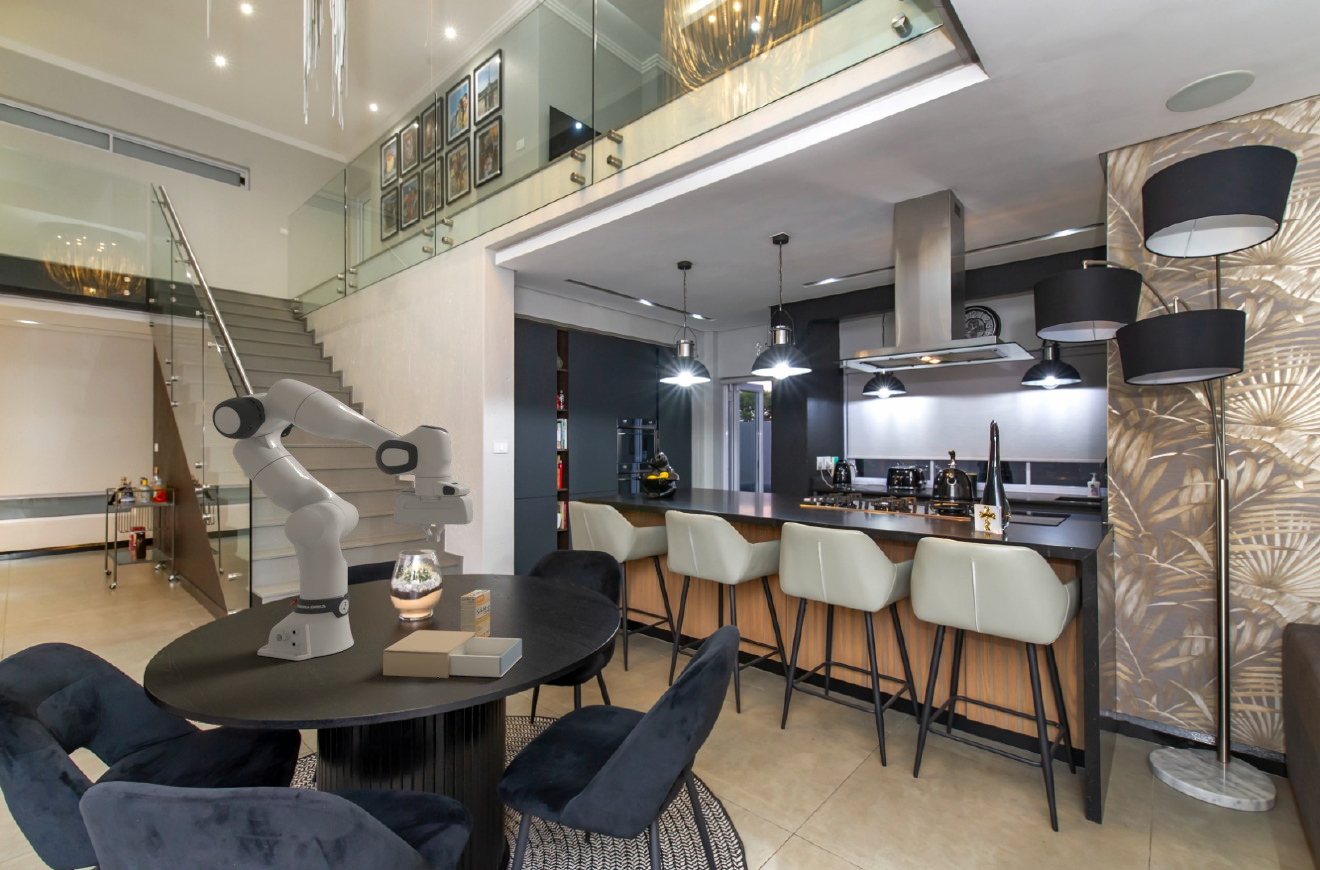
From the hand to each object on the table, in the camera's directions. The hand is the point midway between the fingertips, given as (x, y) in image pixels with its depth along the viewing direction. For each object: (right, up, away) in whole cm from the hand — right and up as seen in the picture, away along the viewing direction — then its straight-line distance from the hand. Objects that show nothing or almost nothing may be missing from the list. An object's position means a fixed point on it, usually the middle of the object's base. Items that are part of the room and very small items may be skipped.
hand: (433, 541), depth 147 cm
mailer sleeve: (+2, -29, -7) cm, 30 cm away
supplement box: (+8, -30, +11) cm, 32 cm away
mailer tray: (+15, -29, -9) cm, 34 cm away
